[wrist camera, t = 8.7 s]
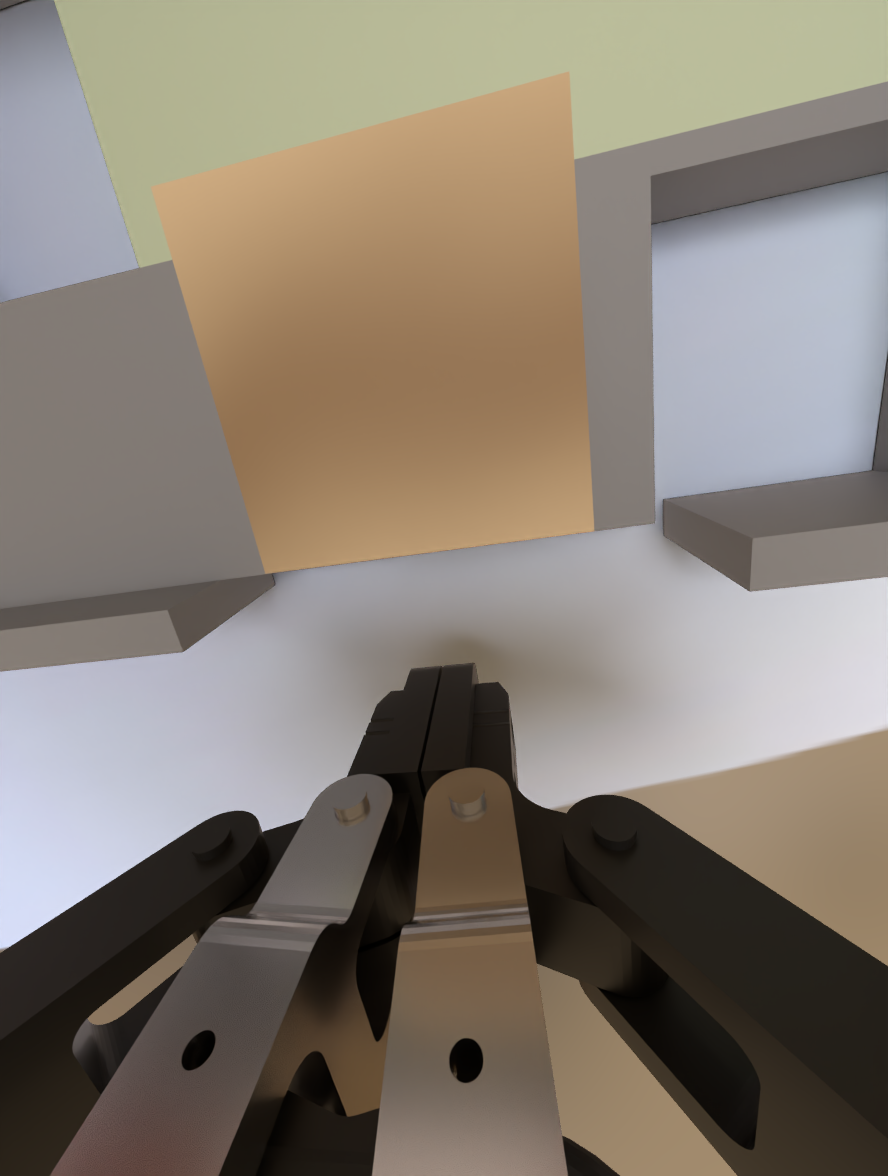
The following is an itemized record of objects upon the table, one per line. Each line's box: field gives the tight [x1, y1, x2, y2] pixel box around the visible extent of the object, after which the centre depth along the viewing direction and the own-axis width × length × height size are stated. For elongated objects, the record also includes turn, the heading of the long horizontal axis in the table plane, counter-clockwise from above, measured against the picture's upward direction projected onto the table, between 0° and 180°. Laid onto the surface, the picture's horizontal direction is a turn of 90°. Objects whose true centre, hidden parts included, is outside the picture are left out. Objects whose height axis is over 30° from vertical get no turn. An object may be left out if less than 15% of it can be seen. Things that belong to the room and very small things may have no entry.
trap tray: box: [0, 0, 888, 671], centre depth 9 cm, size 15×27×6 cm, turn 99°
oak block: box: [151, 72, 594, 574], centre depth 8 cm, size 4×4×4 cm
